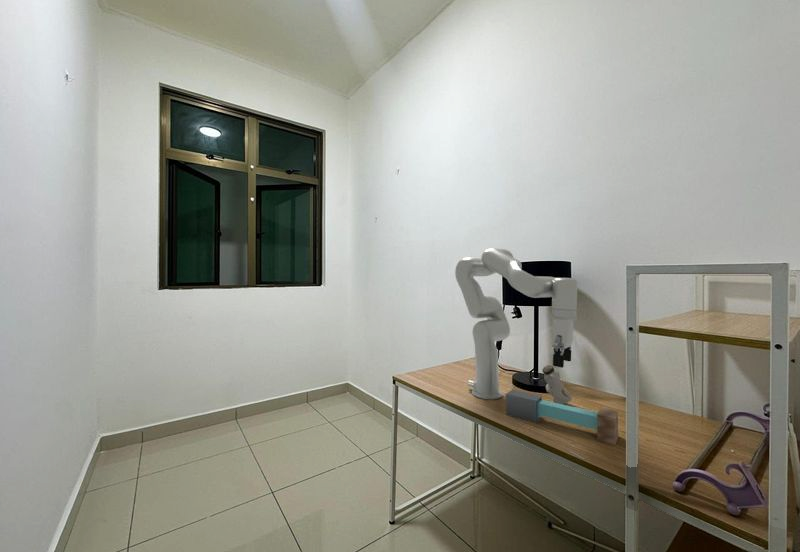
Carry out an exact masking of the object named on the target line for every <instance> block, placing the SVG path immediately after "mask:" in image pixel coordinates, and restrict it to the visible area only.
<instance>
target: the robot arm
mask: <svg viewBox="0 0 800 552" xmlns="http://www.w3.org/2000/svg"><path fill="white" fill-rule="evenodd" d="M522 268H523V266H522V262H521V261H520V260H519V259H517V258H515V257H514V255H513V253H512V252H511V251H509V250H507V249H506V248H505V249H504V248H492V247H491V248H487V249H486V250H484V252H482V255H481V257H473V256H471V257H470V256H469V257H464V258H461V259H460V260H459V261H458V262H457V264H456V266H455V272H454V273H455V274H454V276H455V278H456V279H455V280H456V282H457V284H458V287H459V288H460V290H461V293H462V295H463V299H464V302H465V305H466V308H467V311H468V313H469V315H470V317H472V318H474V319H482V320H480V321H477V322H476V323H475V324H474V325H473V327H472V336H473V337H472V338H473V342H474V355H475V356H474V358H475V360H474V361H475V366H474V367H475V368H474V369H475V381H473V380H471V379H470V380H468V382H467V386H468V387H471V388H472V390H471V393H472V395H473V396H475V398H476V397H477V398H478V399H483V400H498V399H501V398H502V397H503V395H504V394H503V391H502V390H500V389H499V387H500V385H499V382H500V381H499V379H500V378H499V351H498V347H497V346H496V343H495V342H499V341H504V340H506V339H508V338H509V336H510V335H511V334H510V333H511V327H510V324H509V321H508V318H507V316H506V313H505V311H504V309H503V308H504V307H503V306H502V304H501V302H500V300H498V299H497V297H493V296H485V295H484V292H483V289H482V287H481V286H480V283H478V281H477V280H476V279H475V278H474V277H488V276H491V275H494V274H498V275H499V276H502V277H503V278H505V279H506V280H507V282H508V284H509V285H510V286H511V287H512V288H513V289H515V290H516V291H518V292H520V293H522V294H523V295H525V296H527V297H530V298H534V299H536V298H537V299H539V298H552V299H551V318H552V325H551V336H550V346H551V348H553V349H552V350H553V351H552V352H553V353H552V367H555V368H556V367H558V368H561V369H562V368H564V367H565V366H564V365H565V361H566V362H572V345H573V343H574V342H573V341H574V321H575V320H577V308H578V307H577V306H578V305H577V304H578V281H577V280H576V279H575V278H571V277H554V276H544V275H543V276H539V275H538V276H537V275H535V276H534V275H533V274H531V273H528V272H527V271H525V270H523V269H522ZM483 319H485V320H483Z"/></svg>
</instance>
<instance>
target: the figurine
mask: <svg viewBox="0 0 800 552" xmlns="http://www.w3.org/2000/svg"><path fill="white" fill-rule="evenodd" d="M542 373H543V374H544V381H545V382H546V383H547V384H546V385H545V390H546V392H547V393H548V394H550V395H551V397H552V402H553V403H558V404H562V405H566V404H568V403H570V402H571V401H572V399H573V398H572V397H573V396H572V394H571V393H570V392H569V391H568V389H567V388H565V386H564V383H563V382H562V380H561V379H560V377H561V375H560V372H559V370H557V369H556V367H555V368H554V366H553V365H546V366H544V367H543V368H542Z"/></svg>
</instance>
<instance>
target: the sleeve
mask: <svg viewBox="0 0 800 552" xmlns="http://www.w3.org/2000/svg"><path fill="white" fill-rule="evenodd" d="M538 400H543V396H542V395H540V394H536V393H532V392H531V393H530V392H526V391H522V390H517V389H510V390H508V392H506V393H505V415H506V416H509V417H512V418H517V419H519V418H520V420H524V421H527V422H530V423H535V424H537V423H538V422H539V421H540V420H541V419H542V418H543V416H540V415H537V401H538Z"/></svg>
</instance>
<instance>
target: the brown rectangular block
mask: <svg viewBox="0 0 800 552" xmlns="http://www.w3.org/2000/svg"><path fill="white" fill-rule="evenodd" d="M597 412H598V414H597V430H596V431H597V432H596V433H597V434H596V435H597V442H598V441H599V442H602V443H606V444H609V445H613V446H616V443H617V440H618V439H619V411H618V410H615V409H611V408H610V409H609V408H605V407H600V408H599V410H598V411H597Z"/></svg>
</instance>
